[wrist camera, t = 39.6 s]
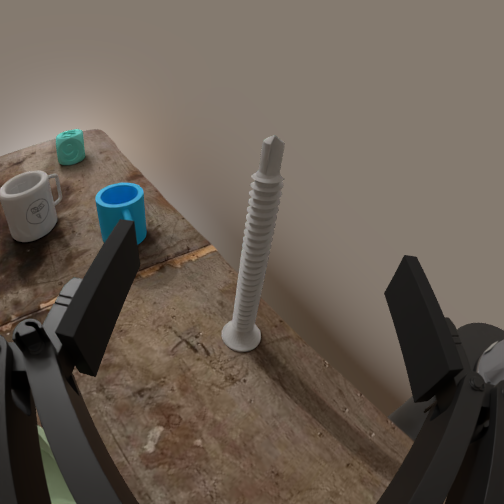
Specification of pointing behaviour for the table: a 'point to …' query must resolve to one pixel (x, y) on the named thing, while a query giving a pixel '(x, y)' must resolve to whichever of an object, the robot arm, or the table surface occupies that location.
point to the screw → (256, 247)
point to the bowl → (53, 474)
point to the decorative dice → (70, 147)
